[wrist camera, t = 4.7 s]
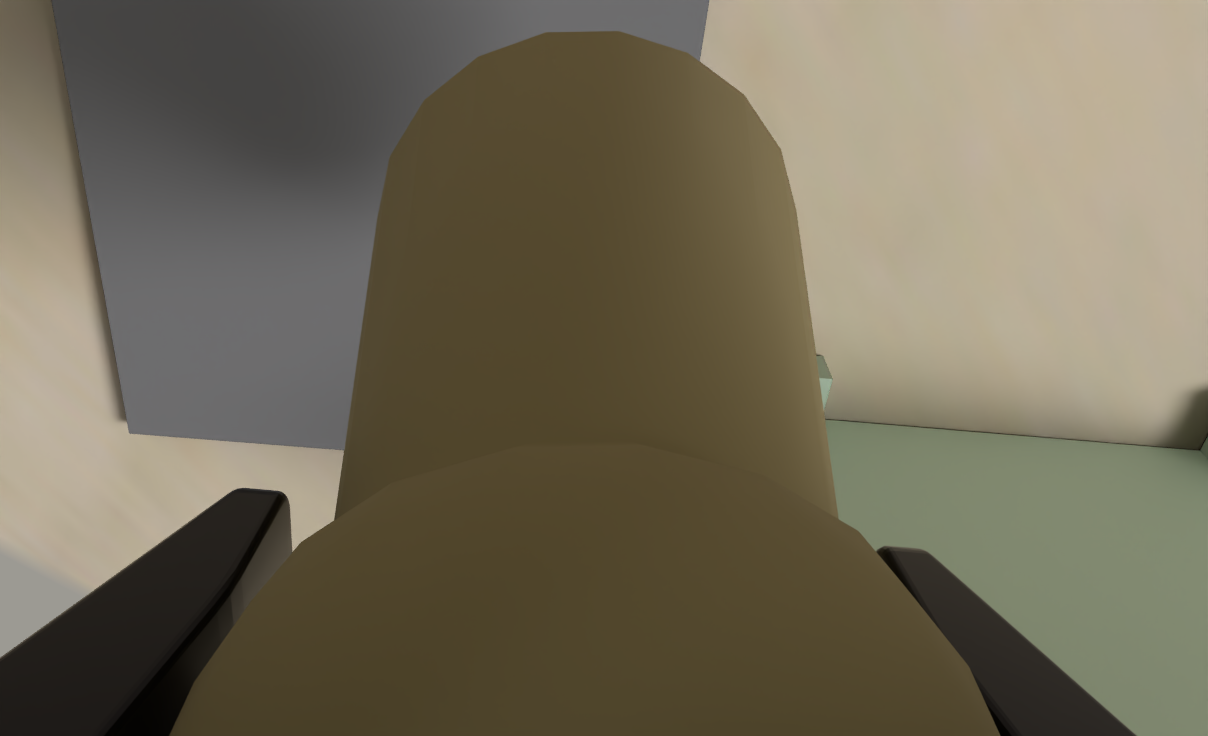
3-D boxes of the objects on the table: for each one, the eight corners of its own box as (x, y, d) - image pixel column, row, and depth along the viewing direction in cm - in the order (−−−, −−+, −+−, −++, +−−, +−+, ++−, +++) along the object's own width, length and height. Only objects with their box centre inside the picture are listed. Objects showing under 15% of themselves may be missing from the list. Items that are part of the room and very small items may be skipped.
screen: (1218, 554, 26) (1486, 882, 18) (703, 515, 25) (755, 845, 17) (1310, 398, 23) (1666, 706, 16) (738, 348, 22) (818, 650, 15)
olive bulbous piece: (292, 250, 14) (-316, 1211, 5) (579, -78, 12) (547, 473, 2) (593, 479, 16) (601, 1443, 7) (882, 239, 14) (1482, 1170, 5)
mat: (633, 463, 24) (634, 472, 24) (136, 423, 23) (129, 433, 23) (715, -59, 18) (717, -55, 17) (38, -139, 17) (26, -137, 16)
